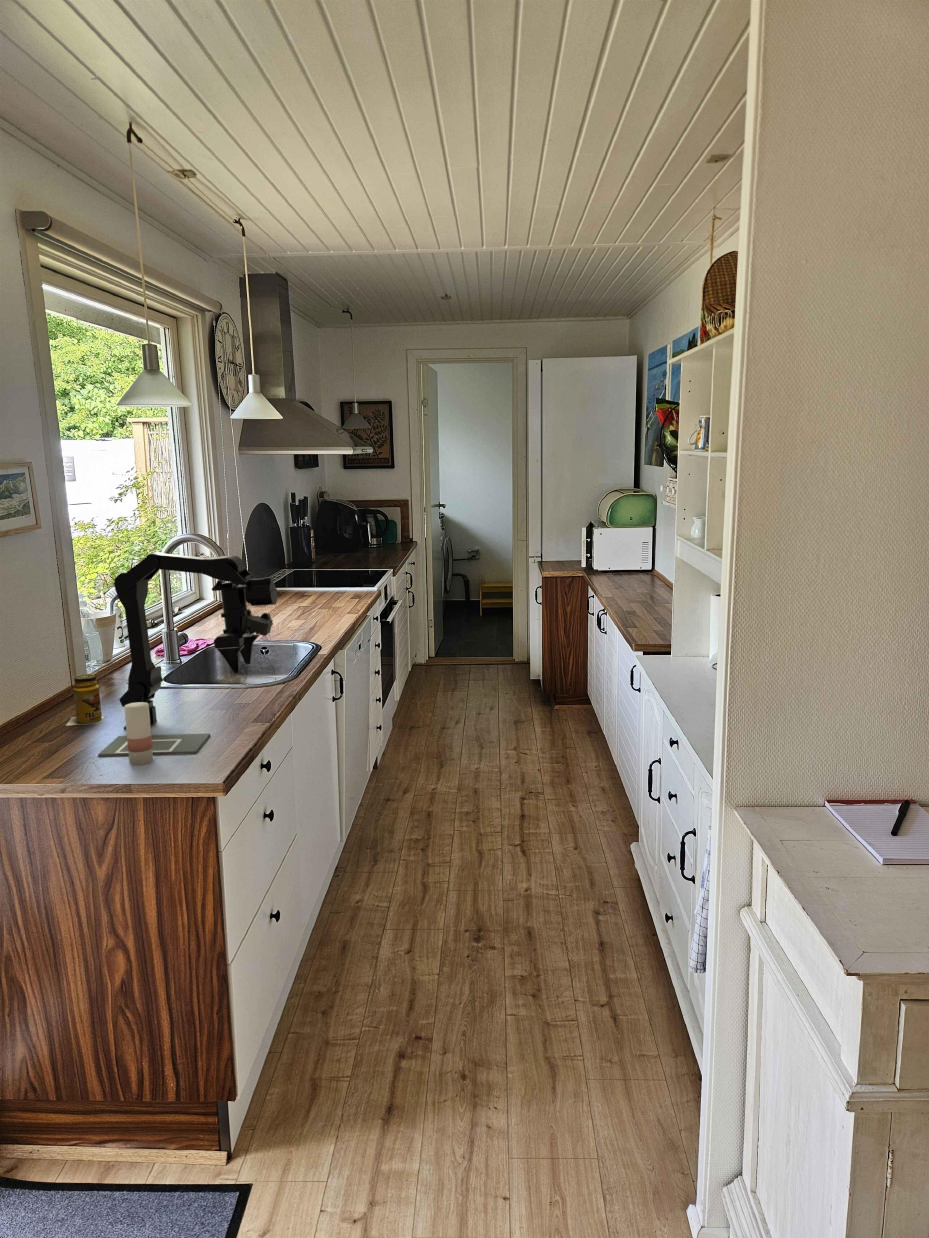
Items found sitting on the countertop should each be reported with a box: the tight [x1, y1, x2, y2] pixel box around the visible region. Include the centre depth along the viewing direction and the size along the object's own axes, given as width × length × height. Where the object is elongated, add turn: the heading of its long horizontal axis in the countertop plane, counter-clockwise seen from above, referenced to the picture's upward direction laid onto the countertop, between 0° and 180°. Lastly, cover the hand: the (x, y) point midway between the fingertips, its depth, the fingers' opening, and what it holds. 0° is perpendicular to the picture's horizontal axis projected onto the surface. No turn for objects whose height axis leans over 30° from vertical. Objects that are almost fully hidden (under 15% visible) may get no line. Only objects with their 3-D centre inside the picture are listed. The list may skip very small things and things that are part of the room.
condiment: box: [65, 673, 106, 727], centre depth 217 cm, size 7×8×12 cm
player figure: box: [123, 702, 154, 766], centre depth 186 cm, size 5×5×13 cm
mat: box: [97, 733, 211, 758], centre depth 197 cm, size 22×13×1 cm, turn 93°
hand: (242, 668), depth 209 cm, fingers open, 9 cm apart
